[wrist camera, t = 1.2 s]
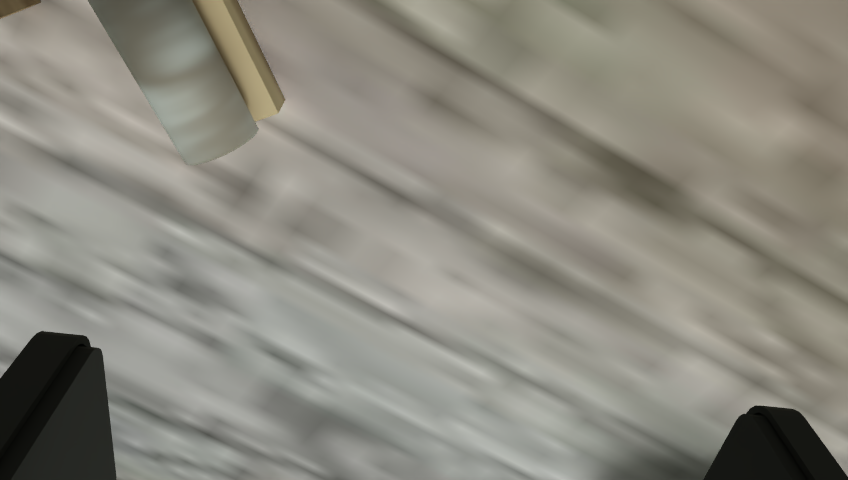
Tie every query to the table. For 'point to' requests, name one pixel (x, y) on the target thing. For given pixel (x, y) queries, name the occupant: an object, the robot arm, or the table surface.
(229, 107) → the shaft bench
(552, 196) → the table surface
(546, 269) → the table surface
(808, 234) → the table surface
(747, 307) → the table surface
